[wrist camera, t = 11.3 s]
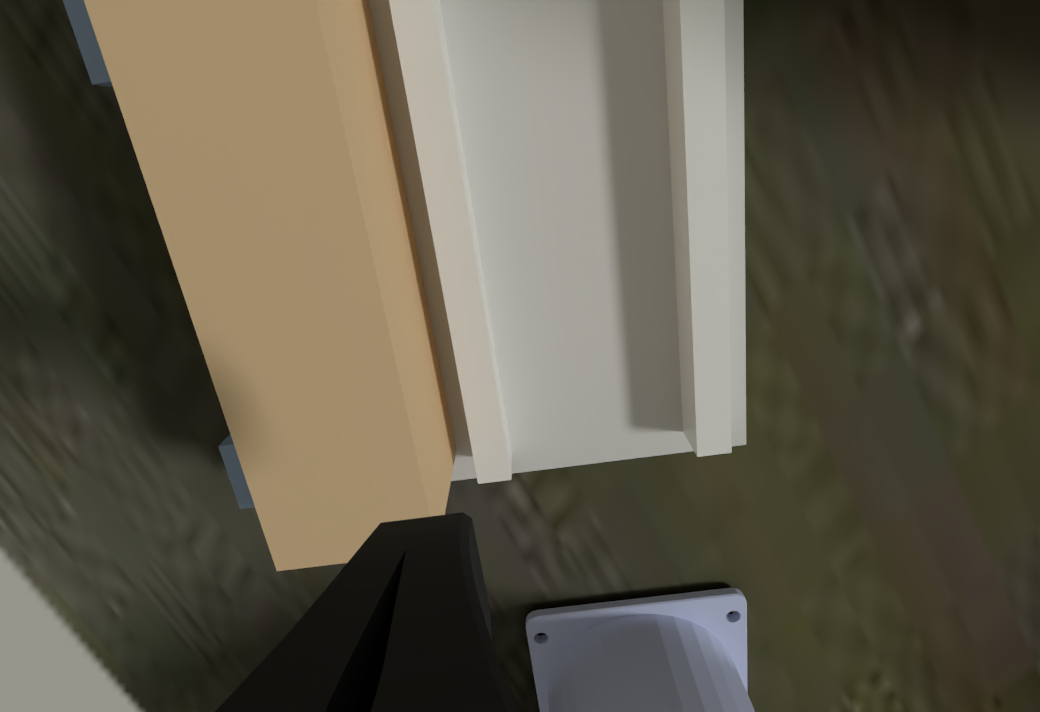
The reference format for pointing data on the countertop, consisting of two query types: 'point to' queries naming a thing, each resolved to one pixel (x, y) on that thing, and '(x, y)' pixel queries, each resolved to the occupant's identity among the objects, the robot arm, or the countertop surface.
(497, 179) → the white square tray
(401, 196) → the tan bar
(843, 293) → the countertop surface
